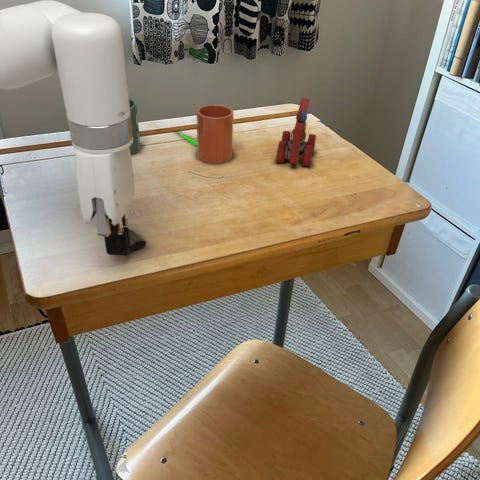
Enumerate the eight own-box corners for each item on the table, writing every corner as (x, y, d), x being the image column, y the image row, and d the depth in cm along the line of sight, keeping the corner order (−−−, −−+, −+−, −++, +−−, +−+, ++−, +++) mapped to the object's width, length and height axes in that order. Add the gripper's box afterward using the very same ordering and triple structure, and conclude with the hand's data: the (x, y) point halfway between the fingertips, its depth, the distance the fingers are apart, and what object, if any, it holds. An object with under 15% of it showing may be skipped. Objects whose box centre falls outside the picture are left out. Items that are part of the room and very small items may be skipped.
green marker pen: (178, 133, 113) (178, 130, 112) (218, 157, 105) (218, 153, 105) (175, 135, 112) (175, 131, 112) (215, 158, 105) (215, 154, 104)
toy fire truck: (273, 169, 101) (278, 116, 94) (283, 143, 110) (288, 93, 103) (308, 173, 101) (316, 121, 94) (315, 147, 110) (322, 97, 102)
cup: (195, 162, 102) (194, 116, 96) (200, 147, 107) (199, 103, 101) (229, 164, 102) (231, 119, 96) (233, 149, 107) (234, 106, 101)
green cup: (101, 154, 103) (94, 109, 97) (111, 140, 108) (105, 96, 102) (135, 157, 103) (131, 112, 97) (143, 142, 108) (139, 98, 102)
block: (130, 255, 78) (129, 245, 77) (107, 238, 81) (106, 228, 80) (149, 246, 80) (148, 236, 79) (126, 230, 83) (125, 220, 82)
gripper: (90, 105, 69) (108, 223, 81) (49, 153, 58) (77, 281, 70) (145, 109, 69) (155, 227, 81) (114, 158, 58) (131, 285, 70)
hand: (119, 252), depth 76 cm, fingers closed
